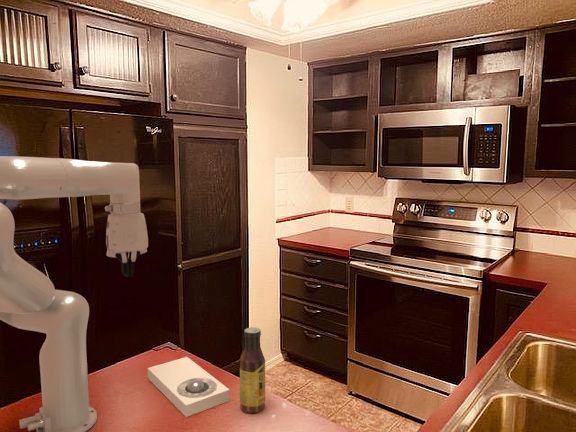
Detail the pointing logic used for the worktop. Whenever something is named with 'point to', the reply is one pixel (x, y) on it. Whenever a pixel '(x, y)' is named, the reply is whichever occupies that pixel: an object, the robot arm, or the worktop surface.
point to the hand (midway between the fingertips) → (128, 275)
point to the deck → (176, 380)
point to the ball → (196, 387)
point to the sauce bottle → (252, 373)
